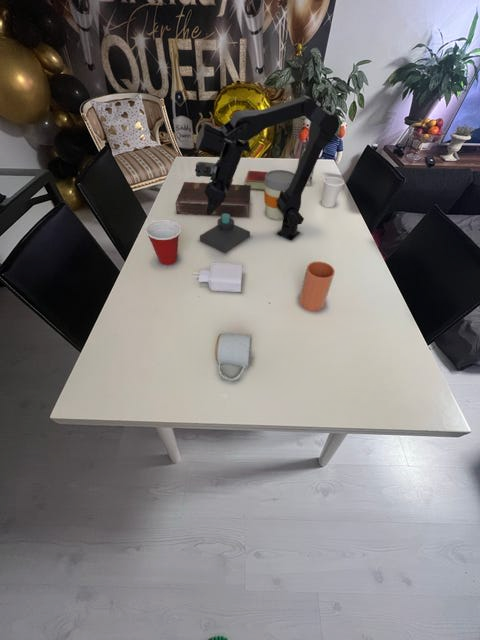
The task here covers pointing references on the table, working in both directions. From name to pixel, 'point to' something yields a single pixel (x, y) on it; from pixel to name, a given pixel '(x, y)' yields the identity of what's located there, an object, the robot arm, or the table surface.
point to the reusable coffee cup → (275, 190)
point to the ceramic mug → (233, 351)
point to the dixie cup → (331, 190)
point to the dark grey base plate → (224, 236)
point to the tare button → (225, 218)
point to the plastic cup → (164, 239)
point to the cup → (316, 285)
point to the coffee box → (302, 149)
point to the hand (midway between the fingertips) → (210, 210)
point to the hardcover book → (256, 180)
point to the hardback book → (197, 202)
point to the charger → (222, 276)
